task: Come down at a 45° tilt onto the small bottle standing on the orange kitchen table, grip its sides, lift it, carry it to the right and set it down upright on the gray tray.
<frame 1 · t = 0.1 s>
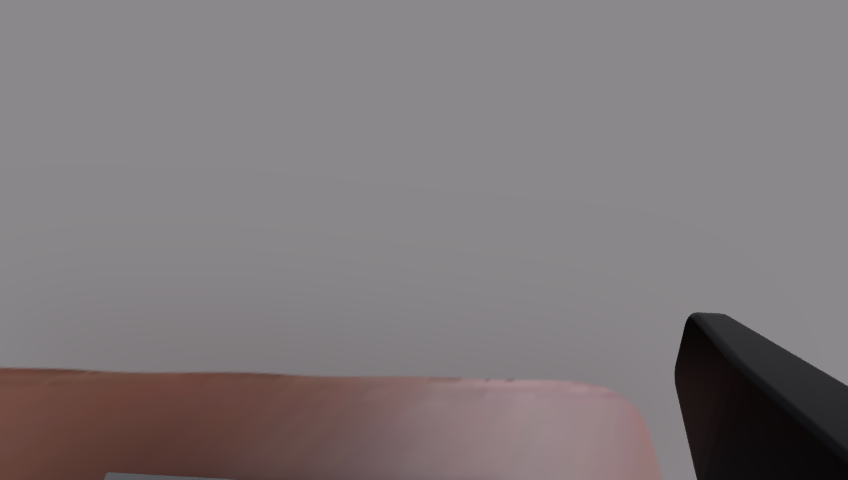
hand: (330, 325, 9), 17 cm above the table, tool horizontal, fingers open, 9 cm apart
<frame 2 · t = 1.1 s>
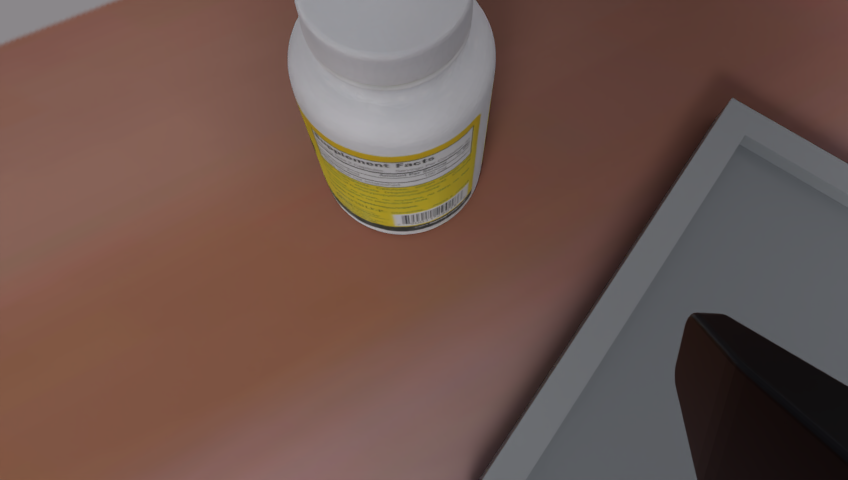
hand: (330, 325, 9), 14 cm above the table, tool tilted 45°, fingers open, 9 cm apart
gray tray: (824, 443, 21), on the table
supplement bottle: (402, 168, 25), on the table
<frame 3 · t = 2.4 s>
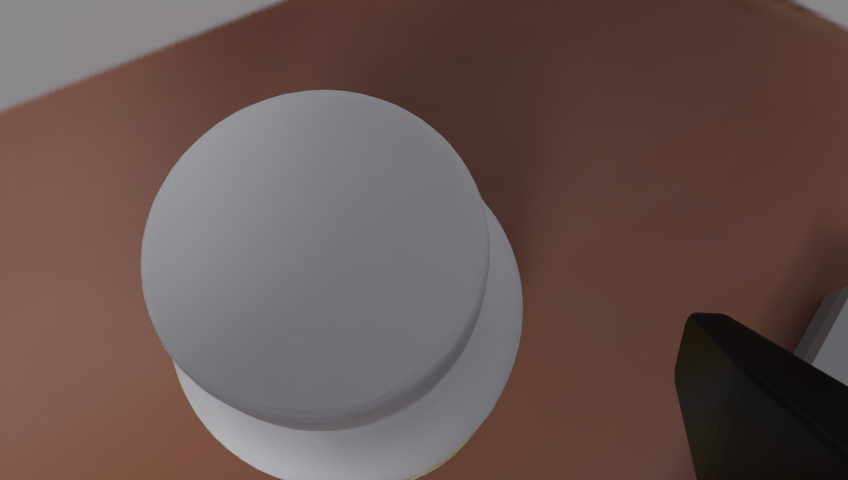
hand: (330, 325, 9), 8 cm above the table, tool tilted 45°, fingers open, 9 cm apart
supplement bottle: (379, 370, 17), on the table
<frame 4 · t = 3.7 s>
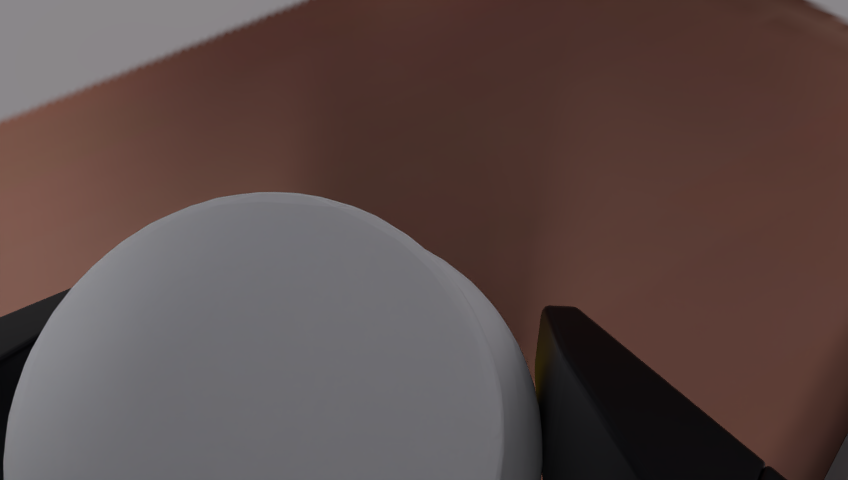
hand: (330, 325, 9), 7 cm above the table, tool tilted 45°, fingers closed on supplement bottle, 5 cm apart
supplement bottle: (367, 453, 15), on the table, touching gripper
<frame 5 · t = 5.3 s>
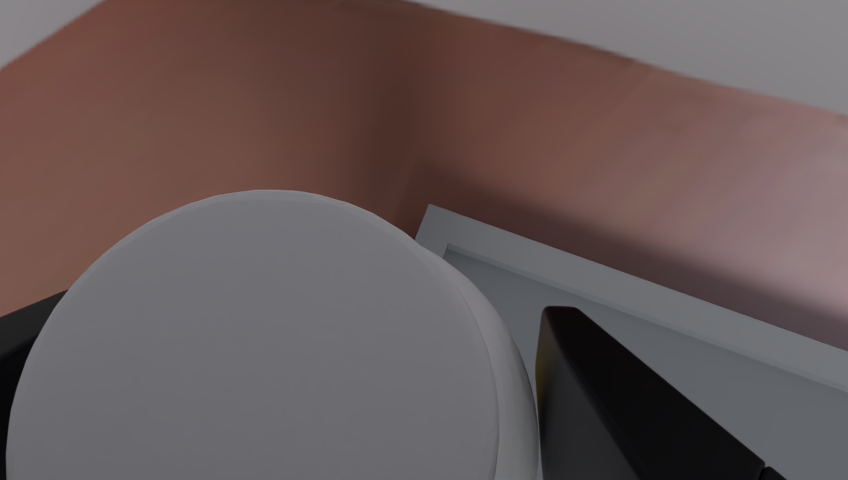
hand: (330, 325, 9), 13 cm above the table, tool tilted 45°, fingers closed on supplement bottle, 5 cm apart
supplement bottle: (366, 449, 15), point 6 cm above the table, touching gripper
when the fingers open (8 cm above the table, at t = 7.2 s): supplement bottle stays where it is, resting on gray tray.
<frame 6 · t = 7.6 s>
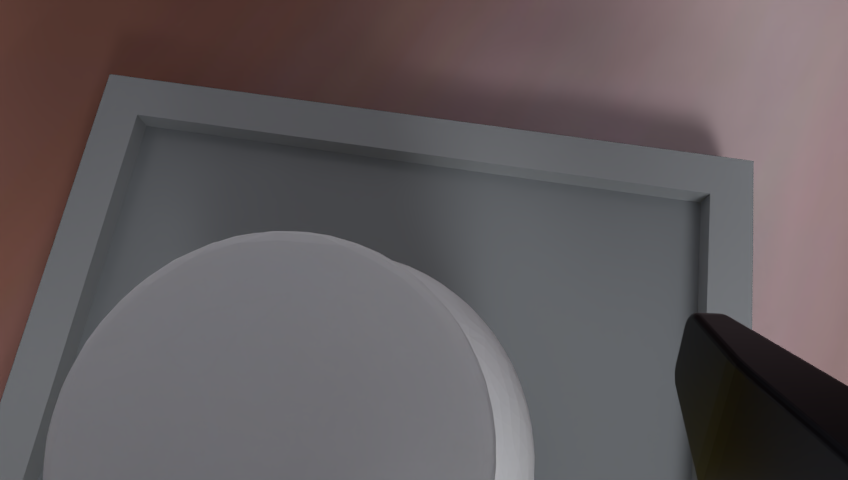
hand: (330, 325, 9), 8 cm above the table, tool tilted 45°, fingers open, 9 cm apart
gray tray: (371, 453, 16), on the table
supplement bottle: (369, 460, 16), point 1 cm above the table, touching gray tray
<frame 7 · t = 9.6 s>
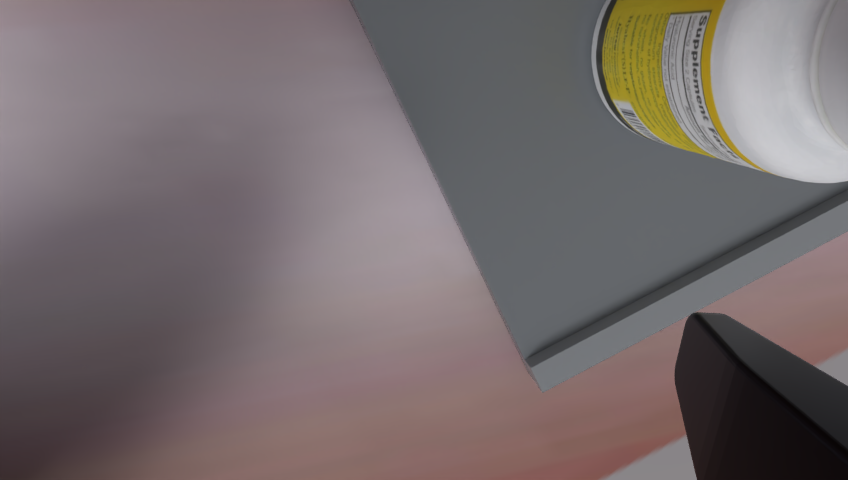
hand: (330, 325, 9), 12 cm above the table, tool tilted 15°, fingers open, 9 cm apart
gray tray: (661, 44, 21), on the table
supplement bottle: (667, 47, 21), point 1 cm above the table, touching gray tray
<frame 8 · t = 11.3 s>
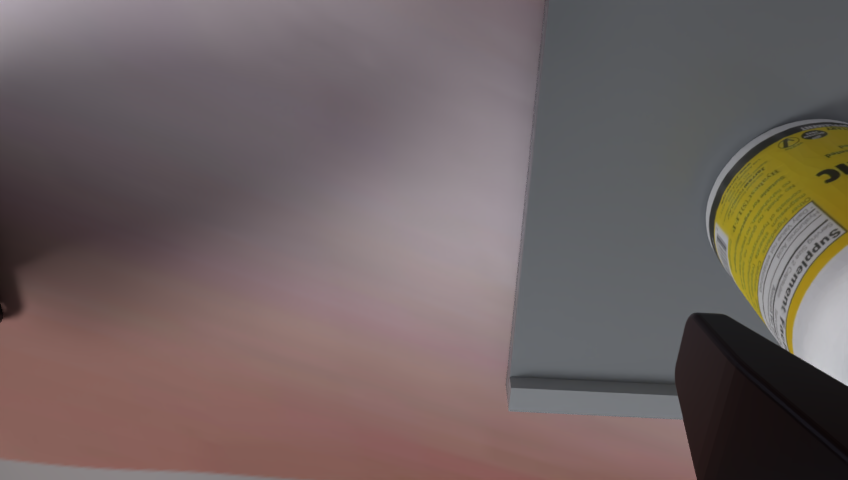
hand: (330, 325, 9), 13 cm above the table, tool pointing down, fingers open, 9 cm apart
gray tray: (787, 189, 22), on the table
supplement bottle: (790, 198, 21), point 1 cm above the table, touching gray tray
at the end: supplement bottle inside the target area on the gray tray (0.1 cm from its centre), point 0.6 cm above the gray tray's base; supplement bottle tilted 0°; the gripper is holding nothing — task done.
